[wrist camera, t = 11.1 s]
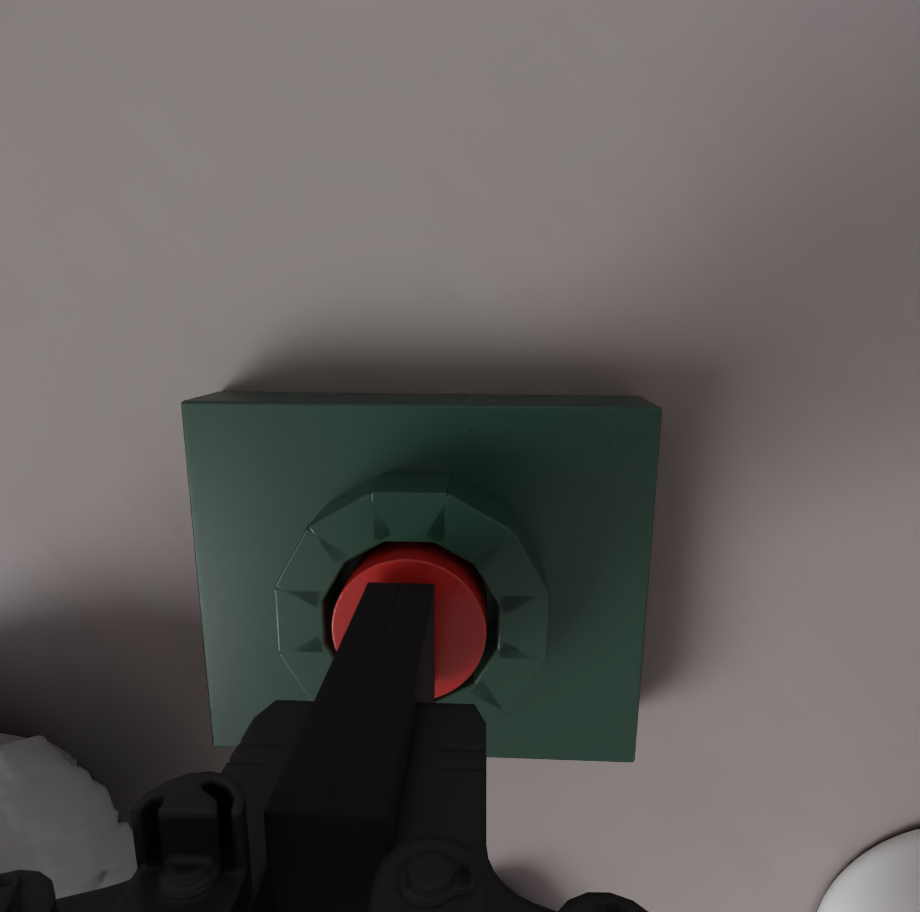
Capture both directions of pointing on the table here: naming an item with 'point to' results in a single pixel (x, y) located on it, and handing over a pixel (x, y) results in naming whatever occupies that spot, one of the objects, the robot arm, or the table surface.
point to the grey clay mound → (59, 820)
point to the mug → (879, 879)
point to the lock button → (454, 602)
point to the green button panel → (431, 520)
